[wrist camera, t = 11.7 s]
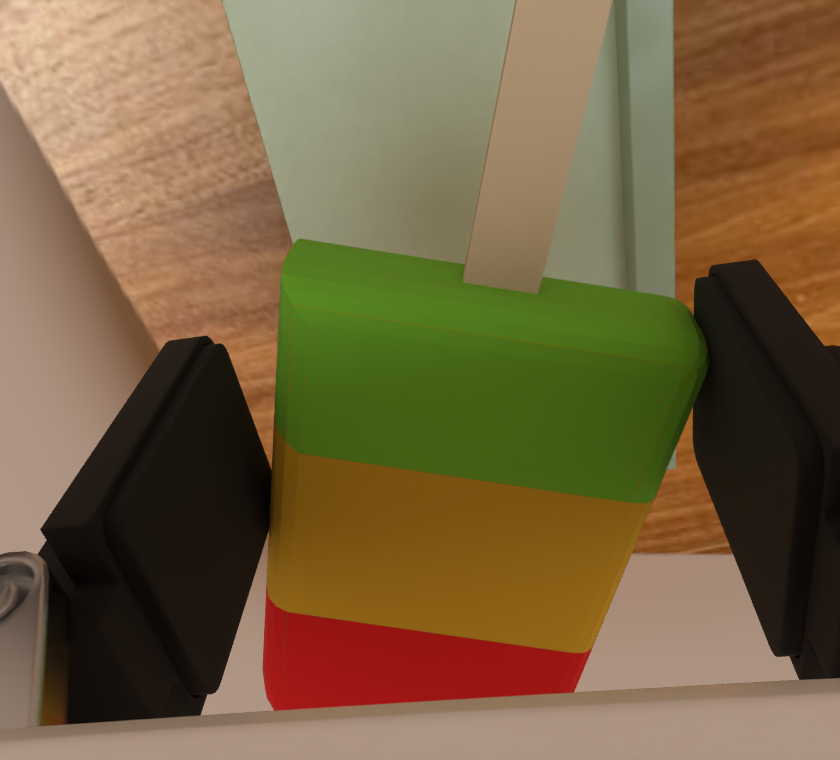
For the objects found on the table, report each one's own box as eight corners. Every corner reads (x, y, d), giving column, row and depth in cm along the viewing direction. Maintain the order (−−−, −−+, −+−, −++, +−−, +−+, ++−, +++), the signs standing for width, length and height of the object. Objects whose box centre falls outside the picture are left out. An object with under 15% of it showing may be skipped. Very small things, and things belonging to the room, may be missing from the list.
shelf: (627, 331, 30) (676, 469, 23) (379, 363, 31) (352, 502, 24) (599, -298, 20) (671, -404, 13) (238, -207, 21) (120, -257, 14)
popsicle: (275, 652, 15) (252, 740, 14) (334, -330, 7) (296, -392, 6) (541, 689, 16) (549, 779, 14) (885, -231, 8) (997, -264, 6)
